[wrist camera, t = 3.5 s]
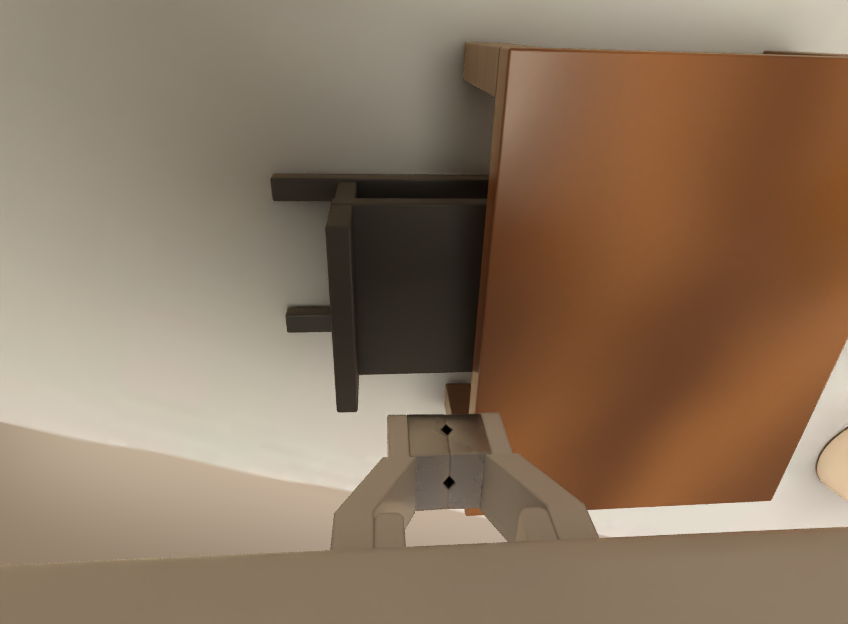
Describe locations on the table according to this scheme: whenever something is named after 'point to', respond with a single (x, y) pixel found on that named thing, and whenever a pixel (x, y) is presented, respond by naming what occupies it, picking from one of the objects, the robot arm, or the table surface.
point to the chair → (395, 272)
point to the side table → (660, 265)
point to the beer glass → (835, 465)
